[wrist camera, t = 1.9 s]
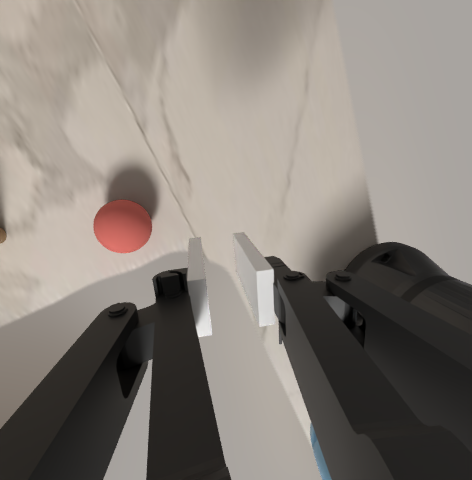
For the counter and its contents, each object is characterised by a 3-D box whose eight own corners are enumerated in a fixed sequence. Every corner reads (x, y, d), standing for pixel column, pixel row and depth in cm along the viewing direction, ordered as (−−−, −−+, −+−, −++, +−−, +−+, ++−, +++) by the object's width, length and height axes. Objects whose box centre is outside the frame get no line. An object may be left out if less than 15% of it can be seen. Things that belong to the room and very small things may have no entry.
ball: (161, 207, 31) (155, 216, 26) (146, 250, 33) (137, 267, 27) (112, 189, 30) (93, 194, 24) (98, 235, 31) (77, 250, 25)
